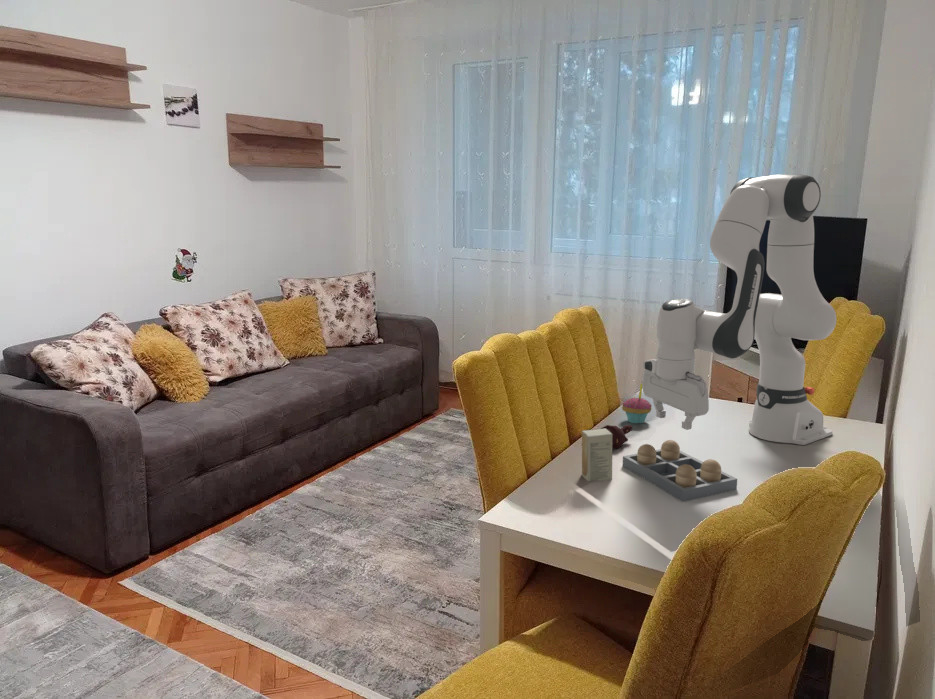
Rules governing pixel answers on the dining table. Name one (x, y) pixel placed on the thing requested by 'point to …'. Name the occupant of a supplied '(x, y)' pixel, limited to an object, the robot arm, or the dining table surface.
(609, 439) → the skincare box
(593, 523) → the dining table surface
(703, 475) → the seated egg
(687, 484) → the seated egg
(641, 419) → the cupcake
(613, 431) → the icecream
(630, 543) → the dining table surface
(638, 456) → the seated egg
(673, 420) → the dining table surface
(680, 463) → the egg carton
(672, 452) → the wooden egg
